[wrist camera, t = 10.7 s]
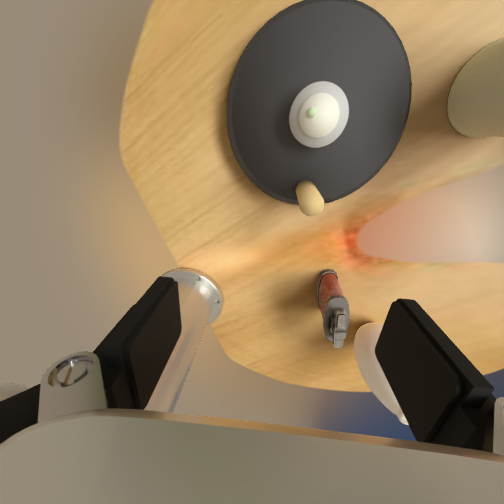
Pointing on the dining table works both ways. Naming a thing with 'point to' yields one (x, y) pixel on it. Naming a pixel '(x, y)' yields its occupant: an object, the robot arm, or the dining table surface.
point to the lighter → (332, 307)
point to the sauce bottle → (374, 367)
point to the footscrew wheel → (320, 102)
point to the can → (479, 94)
